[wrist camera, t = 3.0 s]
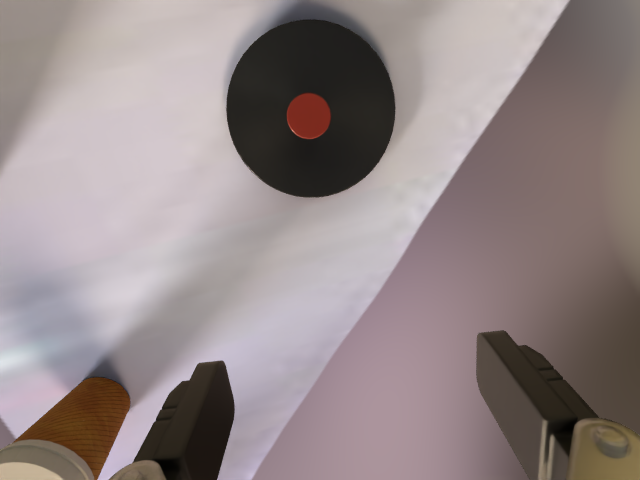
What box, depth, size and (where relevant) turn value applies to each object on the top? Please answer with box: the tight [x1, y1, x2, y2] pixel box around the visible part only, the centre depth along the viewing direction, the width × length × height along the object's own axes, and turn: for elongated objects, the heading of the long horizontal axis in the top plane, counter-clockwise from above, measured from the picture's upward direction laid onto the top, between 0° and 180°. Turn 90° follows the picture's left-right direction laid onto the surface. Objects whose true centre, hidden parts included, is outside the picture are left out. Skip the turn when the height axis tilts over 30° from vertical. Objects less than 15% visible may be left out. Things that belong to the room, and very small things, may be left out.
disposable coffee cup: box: [0, 377, 130, 480], centre depth 38 cm, size 10×10×12 cm
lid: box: [227, 20, 395, 197], centre depth 30 cm, size 15×15×9 cm
